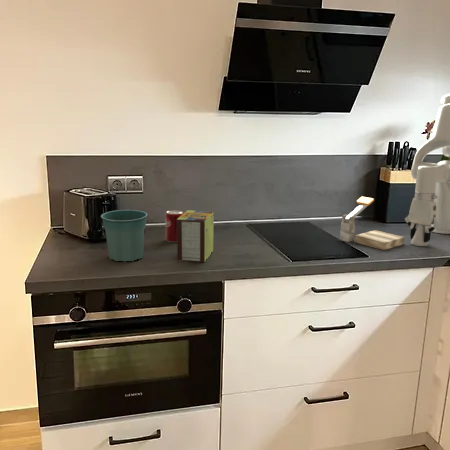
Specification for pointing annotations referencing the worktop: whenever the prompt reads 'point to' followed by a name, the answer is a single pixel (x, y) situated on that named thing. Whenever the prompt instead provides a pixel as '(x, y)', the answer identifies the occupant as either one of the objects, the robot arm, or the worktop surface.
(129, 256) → the flower pot
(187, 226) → the protein box
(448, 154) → the robot arm
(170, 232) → the soda can
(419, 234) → the flask
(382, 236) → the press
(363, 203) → the lever
